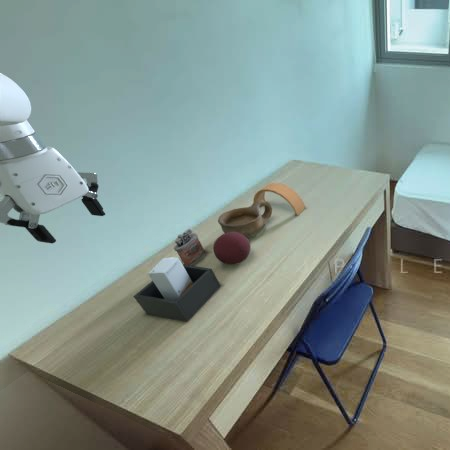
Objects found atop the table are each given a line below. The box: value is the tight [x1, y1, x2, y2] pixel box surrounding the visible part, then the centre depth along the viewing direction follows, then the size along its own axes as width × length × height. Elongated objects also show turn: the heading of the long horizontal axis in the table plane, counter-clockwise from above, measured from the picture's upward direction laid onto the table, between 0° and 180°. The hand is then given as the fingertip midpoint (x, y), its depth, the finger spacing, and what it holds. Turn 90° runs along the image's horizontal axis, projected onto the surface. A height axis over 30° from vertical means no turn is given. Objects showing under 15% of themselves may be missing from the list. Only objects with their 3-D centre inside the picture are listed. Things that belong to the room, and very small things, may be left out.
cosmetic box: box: [147, 257, 193, 301], centre depth 80 cm, size 6×4×12 cm
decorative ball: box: [212, 232, 251, 266], centre depth 94 cm, size 10×10×10 cm
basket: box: [132, 263, 222, 323], centre depth 82 cm, size 13×13×7 cm
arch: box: [252, 182, 306, 216], centre depth 119 cm, size 6×20×10 cm, turn 71°
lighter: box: [173, 228, 207, 266], centre depth 95 cm, size 8×3×10 cm, turn 171°
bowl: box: [217, 200, 273, 239], centre depth 108 cm, size 18×14×10 cm
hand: (75, 227), depth 64 cm, fingers open, 9 cm apart
